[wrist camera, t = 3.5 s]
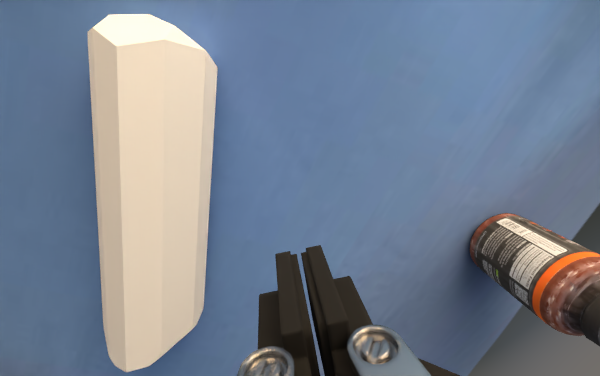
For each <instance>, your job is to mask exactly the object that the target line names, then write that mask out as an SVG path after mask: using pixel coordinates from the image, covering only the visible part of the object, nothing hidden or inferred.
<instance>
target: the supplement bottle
mask: <svg viewBox="0 0 600 376" xmlns="http://www.w3.org/2000/svg"><path fill="white" fill-rule="evenodd" d="M470 254H471V257H472V260H473V261H474V263H475V264H476V265H477V266H478V267H479V268H480V269H481V270H482V271H483V272H485V273H486V274H487V275H488V276H489V277H491V278H492V279H493V280H494V281H495V282H497V283H498V284H499V285H500V286H501V287H503V288H504V289H505V290H506V291H508V292H509V293H510V294H511V295H512V296H514V297H515V298H516V299H517V300H518V301H520V302H521V303H522V304H523V305H525V306H526V307H527V308H528V309H529V310H531V311H532V312H533V313H534V314H535V315H536V316H538V317H539V318H541V319H542V320H543V321H544V322H545V323H547V324H548V325H549V326H551V327H552V328H554V329H555V330H557V331H559V332H562V333H565V334H569V335H576V336H582V335H585V336H586V338H588V339H589V340H591V341H593V342H594V343H596V344H597V345H599V346H600V255H599V254H597V253H595V252H593V251H591V250H589V249H587V248H585V247H583V246H581V245H579V244H577V243H575V242H572V241H570V240H568V239H566V238H564V237H562V236H560V235H558V234H556V233H554V232H552V231H550V230H548V229H546V228H544V227H542V226H539V225H538V224H535V223H534V222H532V221H530V220H528V219H526V218H523V217H520V216H518V215H515V214H508V213H504V214H499V215H496V216H493V217H491V218H489V219H487V220H486V221H484V222H483V223H482V224H481V225H480V226H479V227H478V228H477V229H476V231H475V233H474V234H473V237H472V238H471V243H470Z"/></svg>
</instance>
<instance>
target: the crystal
mask: <svg viewBox="0 0 600 376" xmlns="http://www.w3.org/2000/svg"><path fill="white" fill-rule="evenodd" d="M88 51H89V69H90V88H91V106H92V125H93V143H94V162H95V180H96V199H97V217H98V236H99V254H100V273H101V291H102V310H103V327H104V332H105V338H106V343H107V349H108V355H109V357H110V359H111V360H112V362H113V363H114V365H115V366H116V367H118V368H120V369H121V370H123V371H125V372H130V371H133V370H137V369H141V368H144V367H148V366H150V365H151V364H153V363H154V362H155V361H156V360H158V359H159V358H160V357H161V356H163V355H164V354H165V353H166V352H167V351H168V350H169V349H171V348H172V347H173V346H174V345H175V344H176V343H177V342H178V341H180V340H181V339H182V338H183V337H184V336H185V335H186V334H188V333H189V332H190V331H191V330H192V329H193V328H194V327H195V326H196V325H197V323H198V320H199V318H200V315H201V313H202V311H203V308H204V291H205V274H206V257H207V240H208V222H209V205H210V188H211V171H212V154H213V137H214V120H215V102H216V85H217V68H218V67H217V66H216V65H215V63H214V62H213V60H212V59H211V57H210V56H209V54H208V53H207V51H206V50H204V49H203V48H202V47H201V46H199V45H198V44H197V43H195V42H194V41H193V40H192V39H190V38H189V37H188V36H187V35H185V34H184V33H183V32H182V31H180V30H179V29H178V28H177V27H175V26H174V25H172V24H169V23H167V22H165V21H163V20H160V19H158V18H156V17H154V16H151V15H149V14H133V15H108V16H107V17H106V18H105V19H103V20H102V21H101V22H99V23H98V24H97V25H96V26H94V27H93V28H92V29H90V30H89V31H88Z"/></svg>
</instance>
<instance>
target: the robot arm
mask: <svg viewBox="0 0 600 376" xmlns="http://www.w3.org/2000/svg"><path fill="white" fill-rule="evenodd" d="M301 256H302V261H303V267H304V273H305V278H306V284H307V290H308V295H309V301H310V307H311V312H312V318H313V323H314V327H315V332H316V337H317V341H318V346H319V350H320V355H321V360H322V364H323V369H324V374H325V376H460V375H457V374H455V373H453V372H450V371H448V370H445V369H443V368H441V367H438V366H436V365H433V364H431V363H429V362H426V361H424V360H421V359H419V358H417V357H416V356H415V354H414V353H413V352H412V351H411V349H410V348H409V347H408V345H407V344H406V343H405V342H404V340H403V339H402V338H401V337H400V336H399V335H398V334H397V333H396V332H395V331H394V330H392V329H390V328H388V327H385V326H381V325H373V324H372V322H371V320H370V317H369V315H368V313H367V311H366V309H365V307H364V305H363V303H362V300H361V298H360V296H359V294H358V292H357V290H356V288H355V286H354V283H353V281H352V279H351V277H350V276H347V277H342V278H337V279H333V277H332V275H331V272H330V269H329V267H328V264H327V261H326V258H325V256H324V253H323V250H322V248H321V245H319V246H314V247H309V248H306V252H304V253H301ZM276 269H277V283H278V291H273V292H269V293H264V294H260V295H259V326H258V350H256V351H254V352H253V353H251V354H250V355H249V356H248V357H247V358H246V359H245V360H244V361H243V363H242V364H241V366H240V368H239V371H238V374H237V376H320V373H319V367H318V362H317V356H316V351H315V345H314V340H313V334H312V329H311V324H310V319H309V314H308V309H307V304H306V299H305V294H304V289H303V284H302V279H301V274H300V269H299V264H298V259H297V254H294V255H291V254H290V251H288V252H283V253H278V254H276Z"/></svg>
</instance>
